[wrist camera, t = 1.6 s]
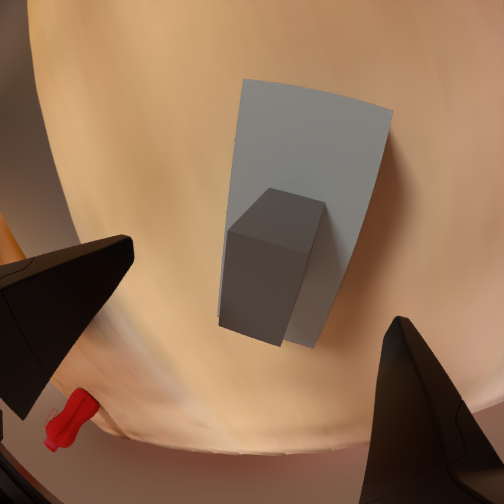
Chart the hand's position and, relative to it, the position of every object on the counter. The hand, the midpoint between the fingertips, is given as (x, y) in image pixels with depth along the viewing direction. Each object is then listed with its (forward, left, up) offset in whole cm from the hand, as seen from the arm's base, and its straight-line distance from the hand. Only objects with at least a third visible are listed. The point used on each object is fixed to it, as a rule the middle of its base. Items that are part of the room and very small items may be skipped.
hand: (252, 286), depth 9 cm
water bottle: (-21, +89, -14) cm, 93 cm away
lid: (-1, +1, -8) cm, 9 cm away
